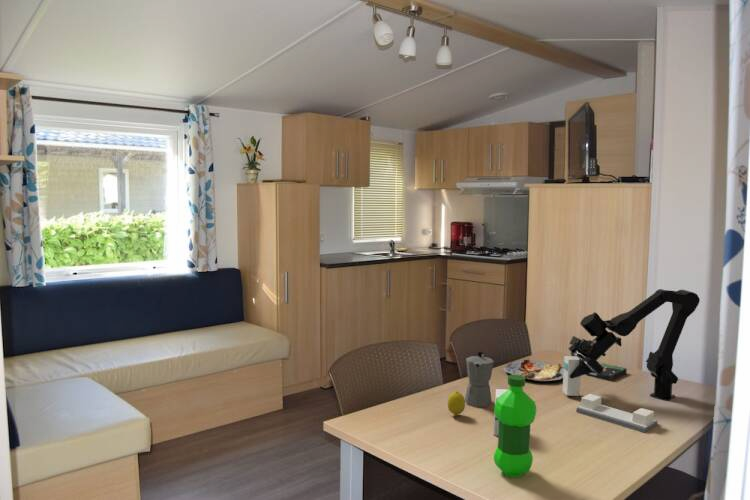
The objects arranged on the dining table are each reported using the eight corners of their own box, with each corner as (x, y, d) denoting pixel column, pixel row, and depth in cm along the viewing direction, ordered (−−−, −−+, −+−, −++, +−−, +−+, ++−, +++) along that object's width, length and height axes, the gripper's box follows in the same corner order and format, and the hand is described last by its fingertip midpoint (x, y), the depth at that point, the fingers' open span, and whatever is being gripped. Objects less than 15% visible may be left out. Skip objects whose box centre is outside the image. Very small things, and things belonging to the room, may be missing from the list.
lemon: (466, 414, 188) (467, 390, 187) (461, 420, 183) (462, 395, 182) (450, 411, 190) (451, 387, 189) (445, 417, 185) (445, 392, 184)
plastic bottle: (489, 477, 146) (493, 380, 143) (496, 460, 155) (499, 369, 153) (530, 485, 142) (535, 386, 140) (534, 466, 152) (539, 374, 150)
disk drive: (611, 383, 224) (626, 374, 235) (611, 376, 224) (627, 368, 234) (585, 376, 231) (601, 368, 242) (585, 370, 231) (602, 362, 242)
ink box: (493, 424, 179) (495, 388, 178) (510, 426, 178) (511, 389, 177) (493, 436, 171) (495, 397, 170) (511, 437, 170) (512, 399, 169)
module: (574, 391, 209) (576, 356, 208) (579, 395, 205) (581, 359, 203) (562, 391, 209) (563, 356, 208) (566, 395, 204) (568, 359, 203)
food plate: (520, 361, 249) (520, 353, 248) (575, 372, 235) (575, 364, 235) (495, 377, 228) (496, 368, 228) (554, 390, 215) (554, 381, 214)
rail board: (590, 404, 198) (591, 392, 198) (657, 424, 182) (658, 410, 182) (576, 411, 191) (576, 398, 191) (644, 432, 175) (645, 418, 175)
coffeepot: (489, 411, 191) (492, 357, 189) (461, 407, 194) (463, 354, 192) (494, 395, 205) (496, 346, 204) (468, 392, 208) (469, 343, 206)
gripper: (575, 323, 214) (544, 352, 215) (596, 335, 195) (562, 367, 196) (594, 344, 215) (564, 373, 216) (617, 358, 196) (584, 390, 197)
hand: (567, 375), depth 206 cm, fingers closed on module, 4 cm apart
